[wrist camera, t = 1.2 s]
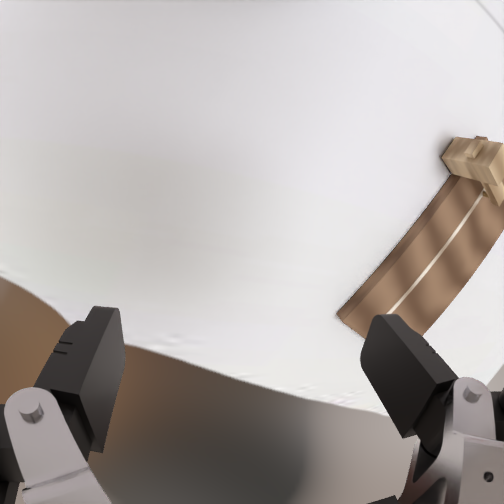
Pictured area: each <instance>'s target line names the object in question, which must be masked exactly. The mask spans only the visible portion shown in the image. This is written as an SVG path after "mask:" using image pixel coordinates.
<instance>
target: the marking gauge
mask: <svg viewBox="0 0 504 504" xmlns="http://www.w3.org/2000/svg"><path fill="white" fill-rule="evenodd" d="M441 158H442V159H443V161H444V162H445V164H446V165H447V167H448V168H449V170H450V172H451V173H452V174H454V175H458V176H462V177H466V178H469V179H473V180H477V181H480V182H481V183H482V185H483V187H484V189H485V191H483V196H484V197H487V198H489V199H490V201H491V203H492V204H493V205H496V206H500V205H501V203H502V201H503V200H504V185H503V183H502V180H503V178H504V144H503V143H499V142H492V141H485V140H478V139H469V138H461V137H455V139H454V140H453V142H452V143H451V145H450V146H449V147H448V149H447V150H446V152H445V153H444V154H443V156H442V157H441Z"/></svg>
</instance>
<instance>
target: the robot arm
mask: <svg viewBox="0 0 504 504" xmlns="http://www.w3.org/2000/svg"><path fill="white" fill-rule="evenodd" d="M360 362H361V367H362V369H363V371H364V373H365V374H366V376H367V378H368V379H369V381H370V383H371V385H372V386H373V388H374V390H375V391H376V393H377V395H378V397H379V398H380V400H381V402H382V403H383V405H384V407H385V409H386V410H387V412H388V414H389V416H390V417H391V419H392V421H393V423H394V424H395V426H396V428H397V429H398V431H399V433H400V435H401V436H402V438H407V437H410V436H414V435H417V436H418V437H419V439H418V440H417V441H416V443H415V445H414V450H413V454H412V459H411V463H410V468H409V472H408V476H407V480H406V484H405V487H404V490H403V493H402V494H401V496H400V497H399V499H398V500H397V499H396V496H395V495H394V496H391V497H388V498H385V499H381V500H378V501H375V502H372V503H368V504H504V388H503V390H502V391H501V392H490V391H489V389H488V388H487V387H486V386H485V385H484V384H483V383H482V382H480V381H478V380H476V379H474V378H470V377H462V378H458V377H457V375H456V374H455V373H454V372H453V371H452V370H451V368H450V367H449V366H448V365H447V364H446V363H445V361H444V360H443V359H442V358H441V357H440V356H439V355H438V353H436V351H435V350H434V349H433V348H432V347H431V346H429V343H428V342H427V341H426V340H425V339H424V338H423V337H422V336H421V335H420V334H419V333H417V332H416V331H414V330H413V329H411V328H410V327H409V326H408V325H407V324H406V322H405V321H404V320H403V319H402V318H401V317H400V316H399V315H398V314H378V315H375V316H374V317H373V319H372V322H371V325H370V328H369V331H368V334H367V337H366V339H365V342H364V345H363V348H362V351H361V356H360ZM124 366H125V347H124V340H123V333H122V325H121V318H120V312H119V309H118V308H111V307H101V306H94V307H93V308H92V309H91V311H90V313H89V314H88V316H87V318H86V320H85V321H76V322H75V323H74V324H72V325H71V326H70V327H68V328H67V329H66V330H65V331H64V333H63V335H62V336H61V338H60V340H59V343H57V345H56V346H55V348H54V350H53V353H51V355H50V357H49V359H48V361H47V362H46V364H45V366H44V368H43V370H42V371H41V373H40V375H39V377H38V379H37V381H36V383H35V385H34V386H33V387H32V388H25V389H22V390H19V391H18V392H16V393H14V394H13V395H12V396H11V397H10V398H9V399H8V401H7V403H6V404H0V504H15V500H16V495H17V491H18V487H19V483H20V482H25V484H26V488H25V489H23V490H22V495H23V499H24V502H25V504H112V502H111V501H110V499H109V498H108V496H107V495H106V493H105V492H104V490H103V489H102V487H101V485H100V484H99V482H98V480H97V479H96V477H95V476H94V474H93V472H92V470H91V469H90V467H89V465H88V464H87V461H88V457H89V453H90V451H94V452H100V453H103V450H104V445H105V441H106V436H107V431H108V428H109V423H110V419H111V416H112V412H113V407H114V404H115V400H116V396H117V392H118V389H119V385H120V381H121V378H122V374H123V371H124Z"/></svg>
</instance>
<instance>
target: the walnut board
mask: <svg viewBox="0 0 504 504" xmlns="http://www.w3.org/2000/svg"><path fill="white" fill-rule="evenodd" d="M475 139H478V140H485V141H488V139H487V137H480V136H477V137H476V138H475ZM502 183H503V185H504V178H503V180H502ZM483 191H485V189H484V187H483V185H482V183H481V182H480V181H477V180H473V179H469V178H466V177H462V176H458V175H454V174H451V175H450V177H449V178H448V180H447V181H446V182H445V184H444V185H443V187H442V188H441V189H440V191H439V192H438V193H437V195H436V196H435V197H434V199H433V200H432V202H431V203H430V204H429V205H428V207H427V208H426V209H425V211H424V212H423V213H422V215H421V216H420V217H419V219H418V220H417V221H416V222H415V224H414V225H413V226H412V227H411V229H410V230H409V231H408V232H407V234H406V235H405V236H404V237H403V239H402V240H401V241H400V242H399V243H398V245H397V246H396V247H395V248H394V250H393V251H392V252H391V253H390V254H389V255H388V257H387V258H386V259H385V260H384V261H383V263H382V264H381V265H380V266H379V267H378V268H377V269H376V271H375V272H374V273H373V274H372V275H371V276H370V277H369V279H368V280H367V281H366V282H365V283H364V284H363V285H362V286H361V288H360V289H359V290H358V291H357V292H356V293H355V294H354V295H353V296H352V297H351V298H350V300H349V301H348V302H347V303H346V304H345V305H344V306H343V307H342V308H341V309H340V310H339V311H338V312H337V315H338V316H339V318H340V319H341V321H342V322H343V323H345V324H346V325H347V326H349V327H350V328H351V329H353V330H354V331H355V332H357V333H358V334H359V335H361V336H362V337H364V338H365V339H366V337H367V334H368V331H369V328H370V325H371V322H372V319H373V317H374V316H375V315H378V314H398V315H399V316H400V317H401V318H402V319H403V320H404V321H405V322H406V324H407V325H408V326H409V327H410V328H411V329H413V330H414V331H416V332H417V333H419V334H420V335H421V336H423V335H424V333H425V332H426V331H427V330H428V329H429V328H430V327H431V326H432V325H433V323H434V322H435V321H436V320H437V319H438V318H439V317H440V315H441V314H442V313H443V312H444V311H445V309H446V308H447V307H448V306H449V305H450V303H451V302H452V301H453V300H454V298H455V297H456V296H457V295H458V293H459V292H460V291H461V290H462V288H463V287H464V286H465V284H466V283H467V282H468V281H469V279H470V278H471V277H472V275H473V274H474V272H475V271H476V270H477V268H478V267H479V266H480V264H481V263H482V261H483V260H484V258H485V257H486V256H487V254H488V253H489V251H490V250H491V248H492V247H493V245H494V244H495V242H496V241H497V239H498V238H499V236H500V234H501V233H502V231H503V230H504V200H503V201H502V203H501V205H500V206H496V205H493V204H492V203H491V201H490V199H489V198H487V197H484V196H483Z"/></svg>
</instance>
